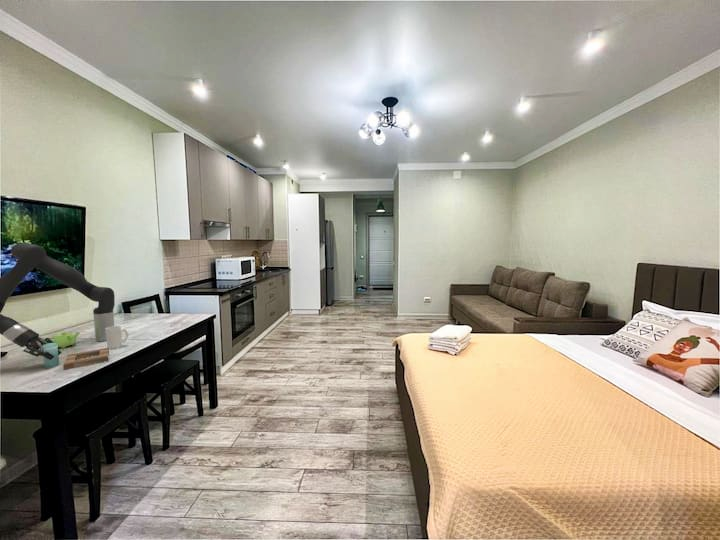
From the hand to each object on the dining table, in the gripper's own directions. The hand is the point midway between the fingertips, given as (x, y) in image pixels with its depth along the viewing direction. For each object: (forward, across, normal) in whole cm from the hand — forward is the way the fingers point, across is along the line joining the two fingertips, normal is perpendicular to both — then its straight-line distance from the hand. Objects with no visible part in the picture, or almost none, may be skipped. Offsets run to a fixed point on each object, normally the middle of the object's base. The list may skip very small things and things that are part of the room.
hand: (56, 356), depth 139 cm
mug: (+16, +20, -9) cm, 27 cm away
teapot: (-5, +31, +13) cm, 34 cm away
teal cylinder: (+2, 0, +5) cm, 5 cm away
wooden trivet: (+11, +3, -4) cm, 12 cm away
